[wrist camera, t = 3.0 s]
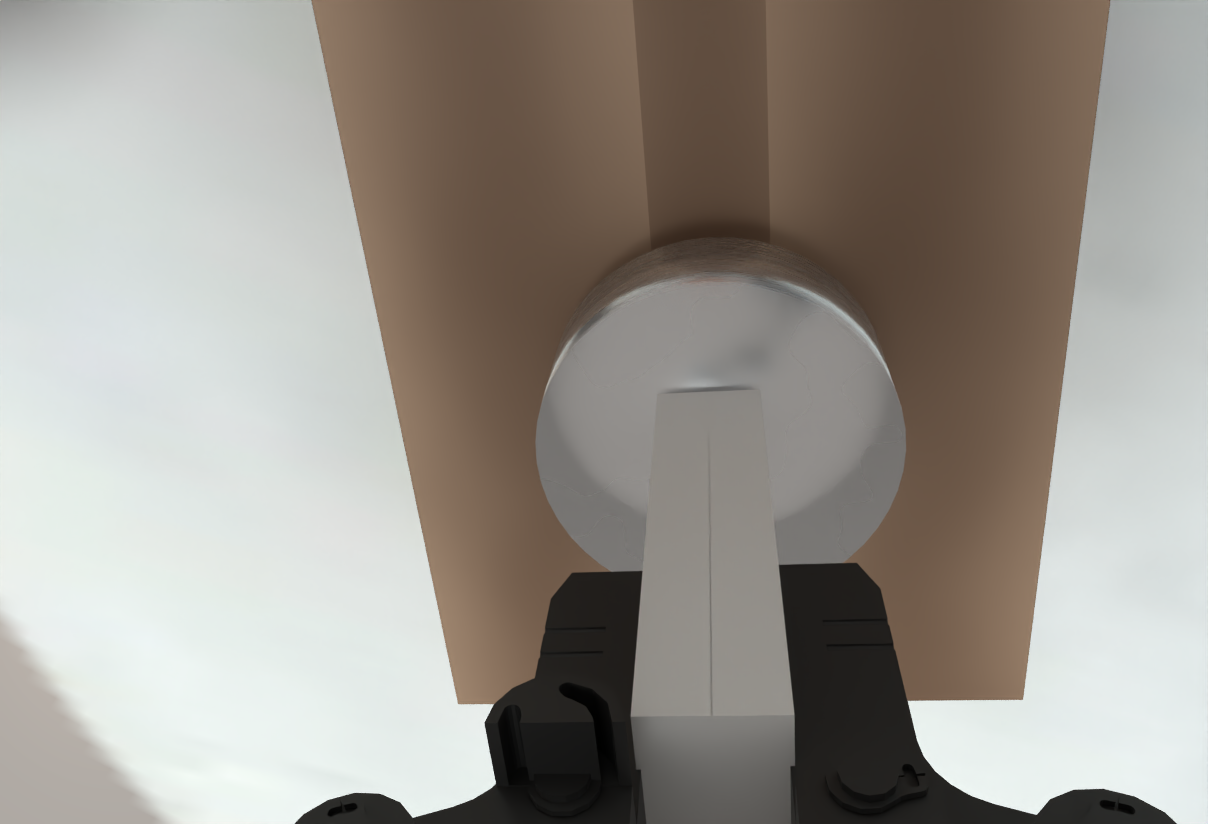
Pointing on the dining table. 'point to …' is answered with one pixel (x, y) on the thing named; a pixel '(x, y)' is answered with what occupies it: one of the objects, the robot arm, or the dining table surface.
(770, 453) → the grey plunger
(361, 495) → the dining table surface
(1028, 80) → the button block
